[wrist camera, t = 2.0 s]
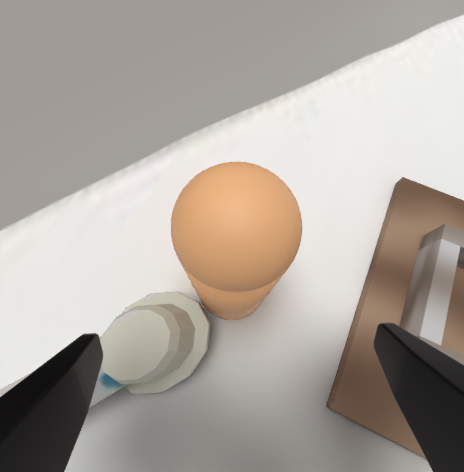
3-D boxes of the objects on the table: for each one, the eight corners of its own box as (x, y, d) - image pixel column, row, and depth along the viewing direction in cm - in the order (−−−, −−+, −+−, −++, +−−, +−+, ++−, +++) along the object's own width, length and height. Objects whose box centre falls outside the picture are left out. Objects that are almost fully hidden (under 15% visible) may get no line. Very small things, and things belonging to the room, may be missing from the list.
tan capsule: (277, 298, 20) (352, 226, 8) (217, 332, 19) (202, 309, 7) (243, 242, 22) (265, 111, 10) (186, 272, 21) (132, 168, 9)
